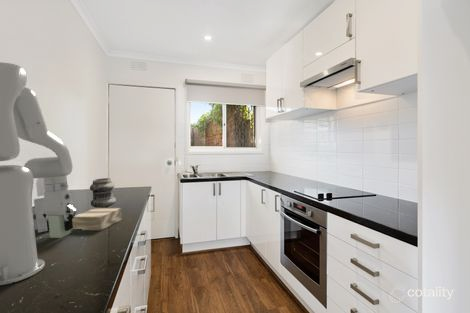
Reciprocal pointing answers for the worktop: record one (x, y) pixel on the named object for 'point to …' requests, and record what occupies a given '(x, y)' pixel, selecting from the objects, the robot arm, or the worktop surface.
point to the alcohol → (40, 187)
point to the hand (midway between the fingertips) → (60, 229)
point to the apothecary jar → (102, 193)
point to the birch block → (97, 218)
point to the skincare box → (40, 214)
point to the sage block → (57, 226)
